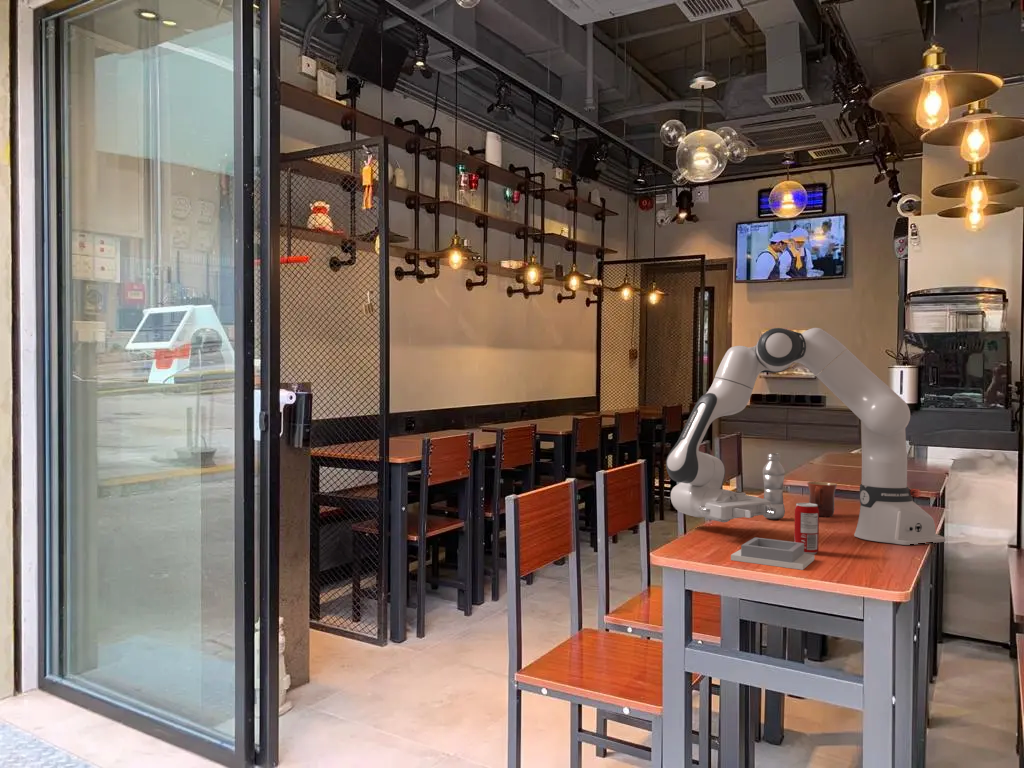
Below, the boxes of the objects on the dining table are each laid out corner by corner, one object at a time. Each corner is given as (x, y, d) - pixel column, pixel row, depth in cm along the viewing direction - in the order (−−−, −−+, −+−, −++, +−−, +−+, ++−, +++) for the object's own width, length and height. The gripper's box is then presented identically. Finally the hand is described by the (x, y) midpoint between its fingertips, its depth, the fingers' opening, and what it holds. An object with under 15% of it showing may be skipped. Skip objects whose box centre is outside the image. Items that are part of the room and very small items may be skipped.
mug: (810, 512, 249) (810, 480, 249) (838, 515, 245) (839, 483, 245) (801, 517, 239) (802, 484, 239) (831, 520, 235) (831, 486, 235)
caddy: (745, 551, 188) (745, 536, 188) (814, 560, 180) (814, 544, 180) (730, 560, 178) (731, 544, 178) (802, 569, 169) (803, 553, 169)
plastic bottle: (787, 521, 232) (788, 455, 232) (765, 520, 232) (766, 454, 233) (780, 517, 239) (781, 453, 239) (758, 517, 239) (759, 452, 239)
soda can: (803, 548, 192) (804, 500, 192) (823, 553, 187) (823, 503, 187) (789, 551, 189) (790, 502, 189) (808, 555, 184) (809, 505, 184)
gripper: (695, 496, 204) (737, 503, 192) (745, 491, 215) (787, 498, 204) (694, 520, 204) (737, 528, 192) (744, 514, 215) (787, 522, 204)
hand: (763, 513), depth 198 cm, fingers open, 8 cm apart
